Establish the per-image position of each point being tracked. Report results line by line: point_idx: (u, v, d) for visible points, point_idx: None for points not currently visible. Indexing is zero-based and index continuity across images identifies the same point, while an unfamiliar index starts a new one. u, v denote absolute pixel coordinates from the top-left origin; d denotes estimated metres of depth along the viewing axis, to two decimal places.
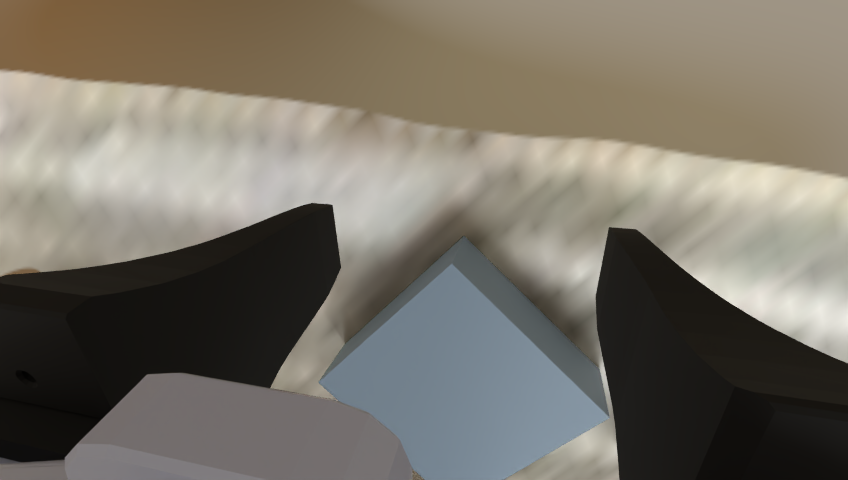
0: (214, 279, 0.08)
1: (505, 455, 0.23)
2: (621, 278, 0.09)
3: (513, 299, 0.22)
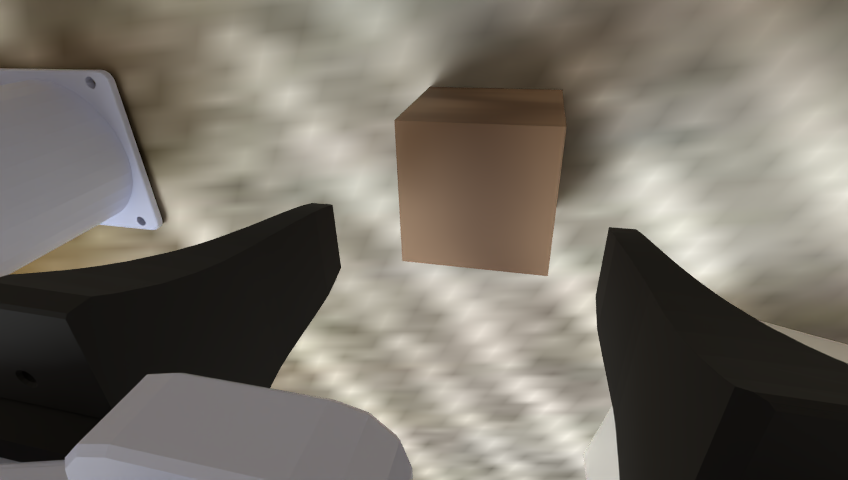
0: (214, 279, 0.08)
1: None
2: (621, 278, 0.09)
3: None
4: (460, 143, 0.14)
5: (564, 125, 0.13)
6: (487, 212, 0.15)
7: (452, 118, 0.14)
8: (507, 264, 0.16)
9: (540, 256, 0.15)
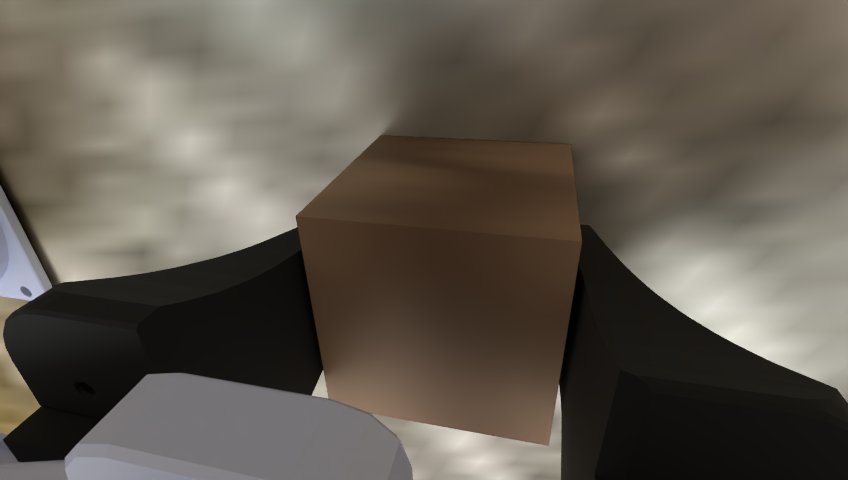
0: (266, 286, 0.08)
1: None
2: None
3: None
4: (403, 256, 0.08)
5: (578, 236, 0.08)
6: (453, 355, 0.09)
7: (391, 212, 0.09)
8: (486, 425, 0.10)
9: (537, 420, 0.10)
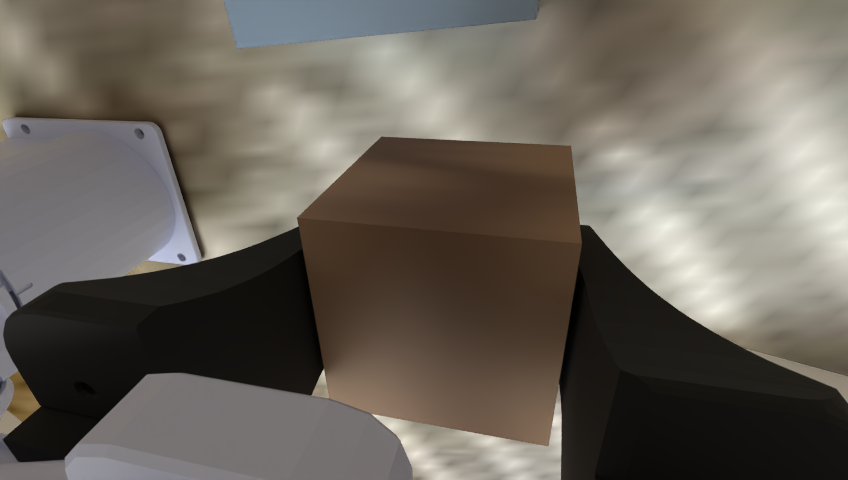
0: (266, 286, 0.08)
1: None
2: None
3: None
4: (404, 258, 0.08)
5: (578, 238, 0.08)
6: (453, 356, 0.09)
7: (392, 214, 0.09)
8: (486, 426, 0.10)
9: (537, 420, 0.10)
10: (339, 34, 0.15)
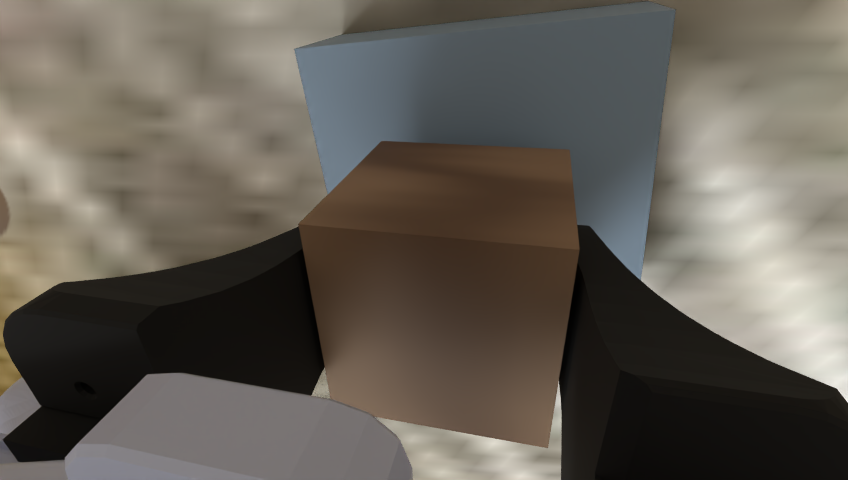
0: (266, 286, 0.08)
1: None
2: None
3: None
4: (404, 263, 0.08)
5: (575, 244, 0.08)
6: (453, 359, 0.09)
7: (392, 220, 0.09)
8: (486, 428, 0.10)
9: (536, 423, 0.10)
10: None
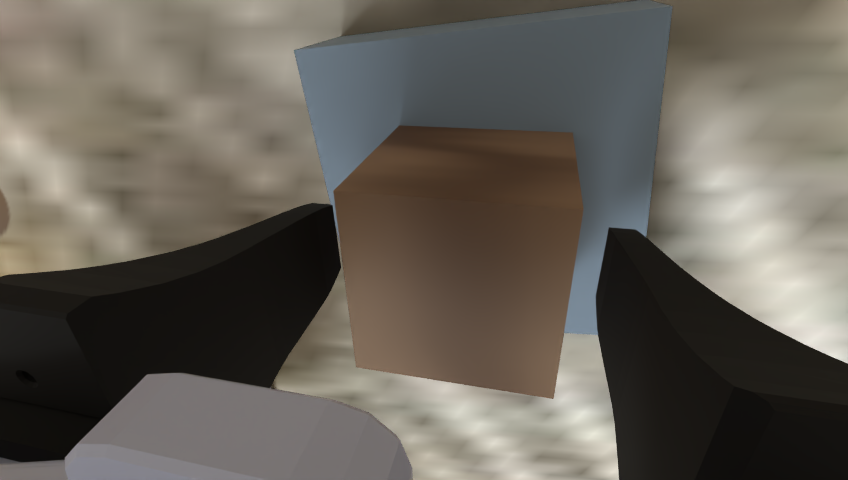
0: (214, 279, 0.08)
1: None
2: (621, 278, 0.09)
3: None
4: (427, 225, 0.10)
5: (580, 206, 0.09)
6: (469, 316, 0.10)
7: (417, 187, 0.10)
8: (497, 381, 0.11)
9: (543, 374, 0.11)
10: None
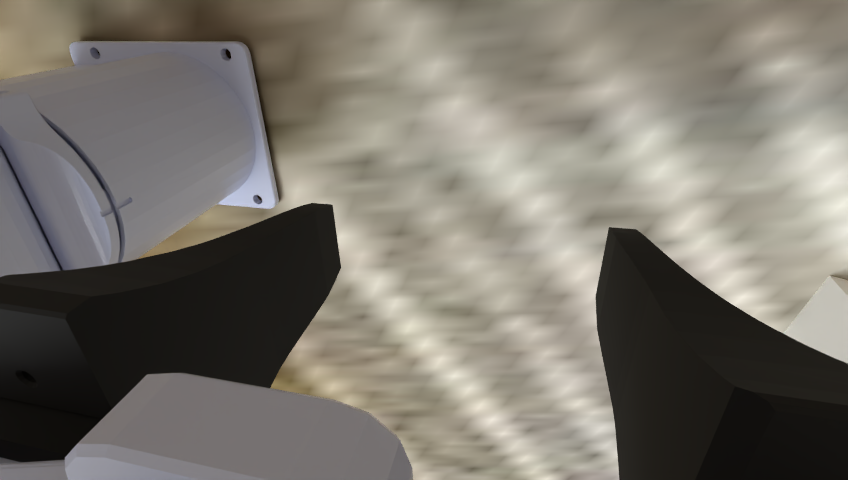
0: (214, 279, 0.08)
1: None
2: (621, 278, 0.09)
3: None
4: None
5: None
6: None
7: None
8: None
9: None
10: None
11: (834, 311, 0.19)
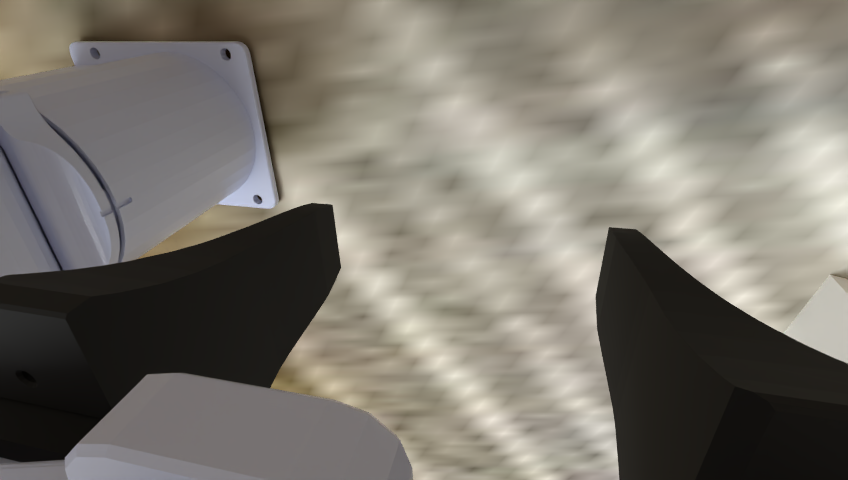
0: (214, 279, 0.08)
1: None
2: (621, 278, 0.09)
3: None
4: None
5: None
6: None
7: None
8: None
9: None
10: None
11: (835, 310, 0.19)
